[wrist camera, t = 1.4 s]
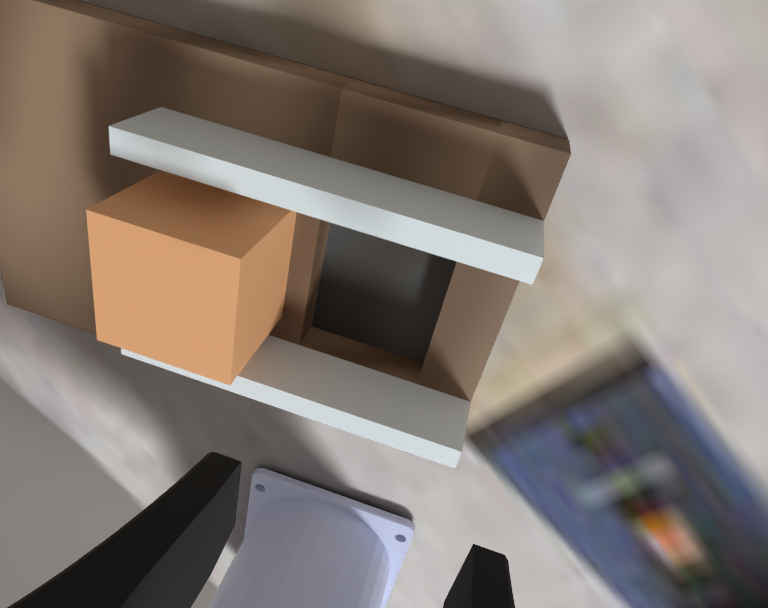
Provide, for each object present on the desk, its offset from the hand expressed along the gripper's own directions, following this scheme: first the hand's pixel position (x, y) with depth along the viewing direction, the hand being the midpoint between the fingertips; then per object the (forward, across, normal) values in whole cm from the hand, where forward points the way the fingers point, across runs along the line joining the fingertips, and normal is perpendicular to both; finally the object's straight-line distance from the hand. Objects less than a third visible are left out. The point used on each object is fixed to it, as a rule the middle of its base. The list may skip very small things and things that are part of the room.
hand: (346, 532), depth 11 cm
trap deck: (+10, +6, 0) cm, 12 cm away
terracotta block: (+9, +7, 0) cm, 11 cm away
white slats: (+9, +3, 0) cm, 10 cm away
